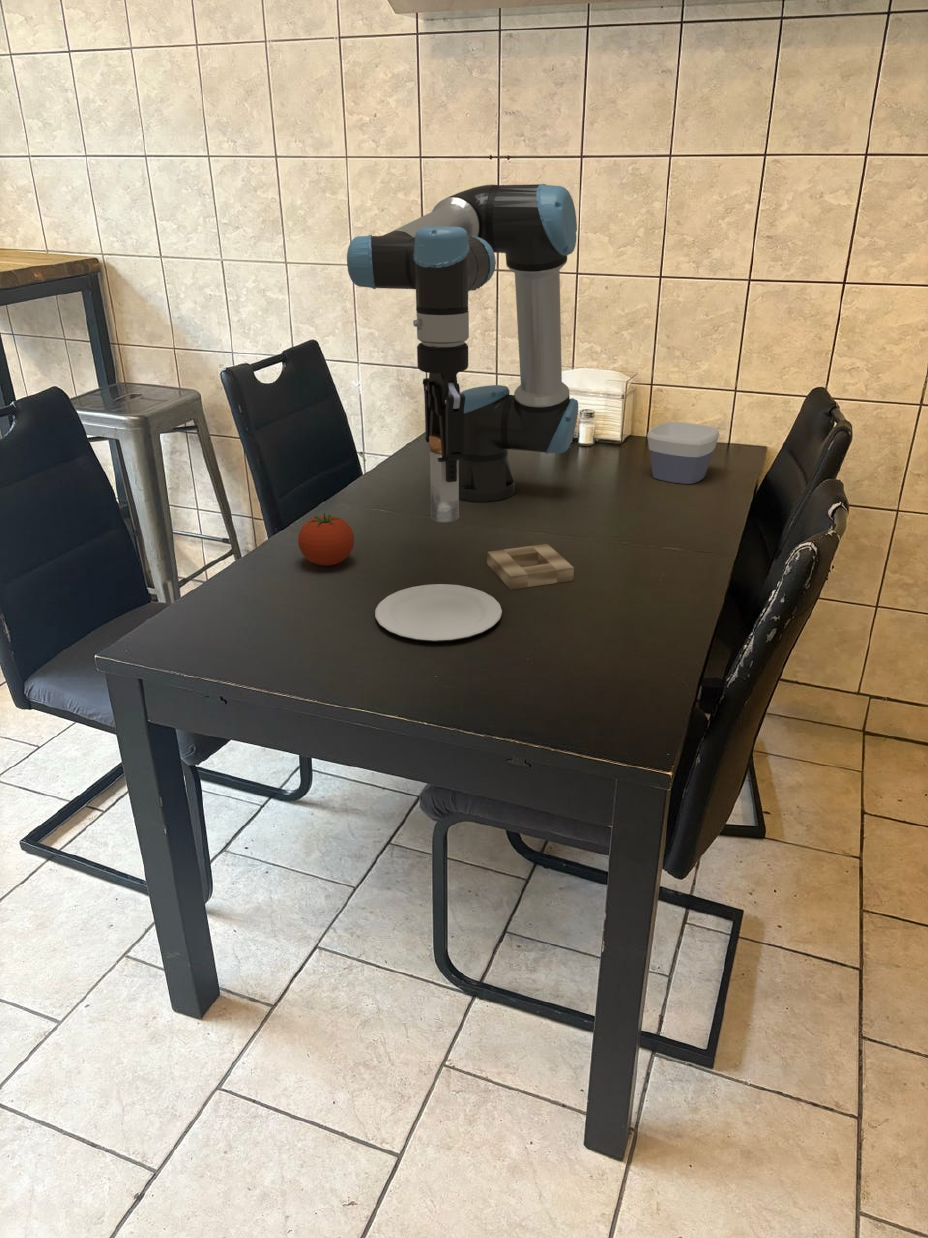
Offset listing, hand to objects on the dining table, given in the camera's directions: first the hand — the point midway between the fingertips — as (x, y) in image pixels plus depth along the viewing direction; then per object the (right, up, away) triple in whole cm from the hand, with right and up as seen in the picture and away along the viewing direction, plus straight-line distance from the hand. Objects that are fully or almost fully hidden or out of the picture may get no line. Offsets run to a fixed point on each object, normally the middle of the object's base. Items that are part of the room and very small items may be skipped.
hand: (444, 495), depth 143 cm
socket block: (+15, -11, +23) cm, 29 cm away
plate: (-1, -20, +7) cm, 21 cm away
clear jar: (0, -3, +2) cm, 4 cm away
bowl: (+54, +14, +73) cm, 92 cm away
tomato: (-22, -9, +27) cm, 36 cm away
